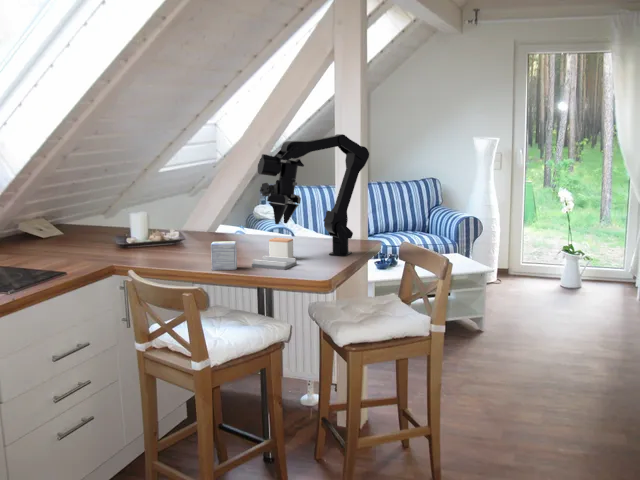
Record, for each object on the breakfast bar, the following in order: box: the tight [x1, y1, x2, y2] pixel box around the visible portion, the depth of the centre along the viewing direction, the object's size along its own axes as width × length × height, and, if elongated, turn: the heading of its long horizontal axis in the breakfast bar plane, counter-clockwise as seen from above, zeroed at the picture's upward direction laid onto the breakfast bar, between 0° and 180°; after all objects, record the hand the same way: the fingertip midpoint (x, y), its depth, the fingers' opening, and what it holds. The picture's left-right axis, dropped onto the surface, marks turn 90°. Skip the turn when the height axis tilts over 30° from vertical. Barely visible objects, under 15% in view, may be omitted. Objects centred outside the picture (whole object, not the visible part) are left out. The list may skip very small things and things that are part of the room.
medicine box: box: [210, 240, 238, 271], centre depth 220 cm, size 8×4×9 cm, turn 92°
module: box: [268, 237, 294, 258], centre depth 235 cm, size 4×7×7 cm, turn 66°
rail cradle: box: [251, 255, 298, 271], centre depth 224 cm, size 9×12×2 cm
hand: (281, 223), depth 232 cm, fingers open, 9 cm apart
